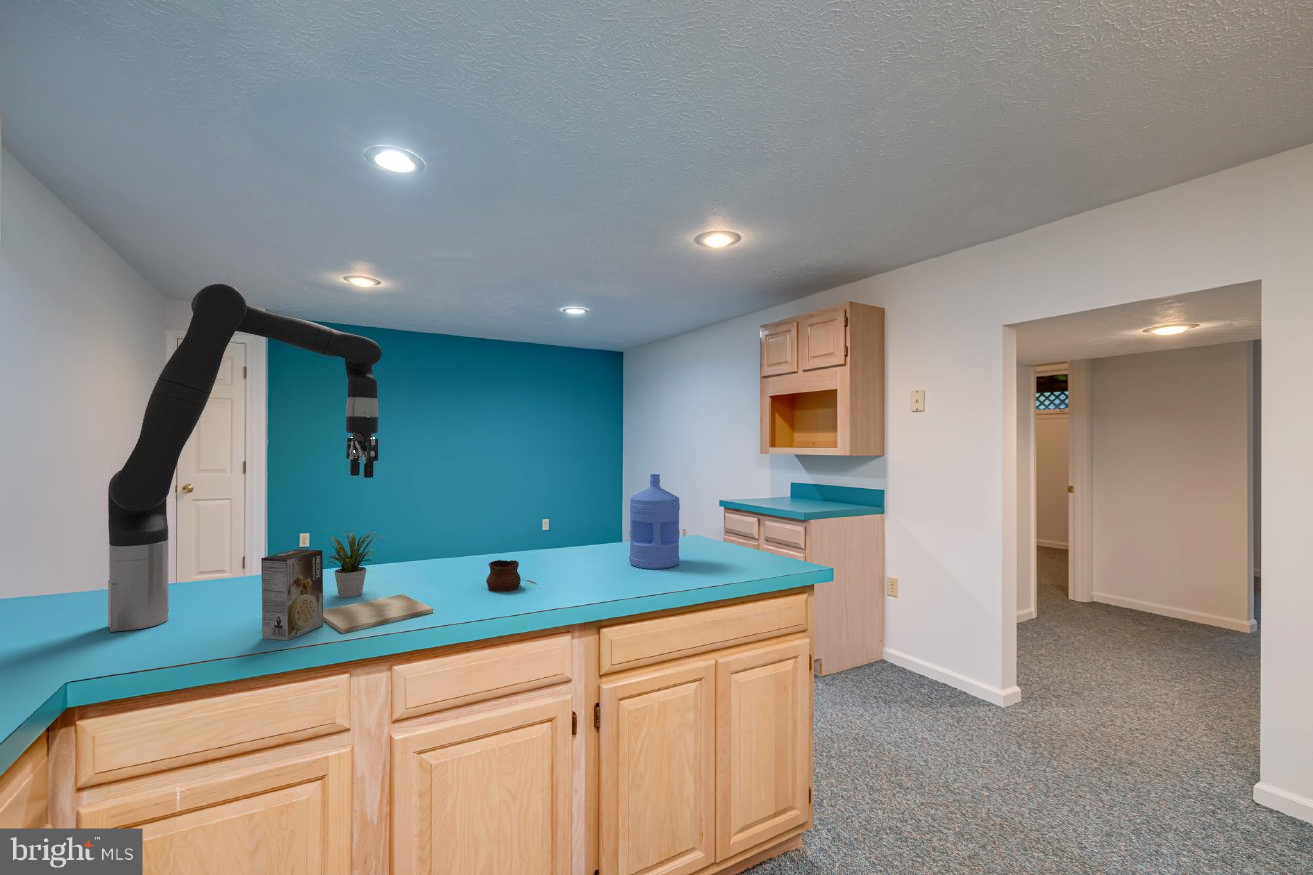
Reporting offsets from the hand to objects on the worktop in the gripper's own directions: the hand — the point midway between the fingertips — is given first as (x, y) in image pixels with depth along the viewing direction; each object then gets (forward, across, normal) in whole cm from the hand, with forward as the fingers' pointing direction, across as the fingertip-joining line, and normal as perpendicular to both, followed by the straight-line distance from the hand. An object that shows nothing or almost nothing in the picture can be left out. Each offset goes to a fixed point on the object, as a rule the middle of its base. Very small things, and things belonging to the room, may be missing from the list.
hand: (361, 476), depth 152 cm
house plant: (+29, +7, -4) cm, 30 cm away
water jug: (+28, +40, +72) cm, 87 cm away
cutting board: (+29, +27, -8) cm, 40 cm away
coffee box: (+29, +27, -24) cm, 46 cm away
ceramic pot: (+29, +29, +24) cm, 48 cm away
